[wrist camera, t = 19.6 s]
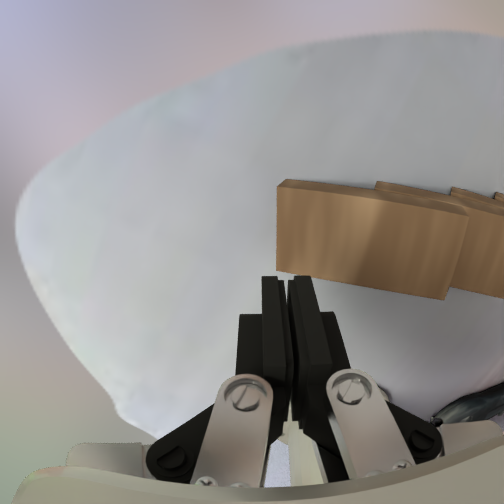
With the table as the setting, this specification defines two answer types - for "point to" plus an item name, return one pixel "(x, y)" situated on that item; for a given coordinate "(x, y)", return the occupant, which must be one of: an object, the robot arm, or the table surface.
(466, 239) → the domino
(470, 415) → the electronic device
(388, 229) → the domino
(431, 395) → the table surface
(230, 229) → the table surface
